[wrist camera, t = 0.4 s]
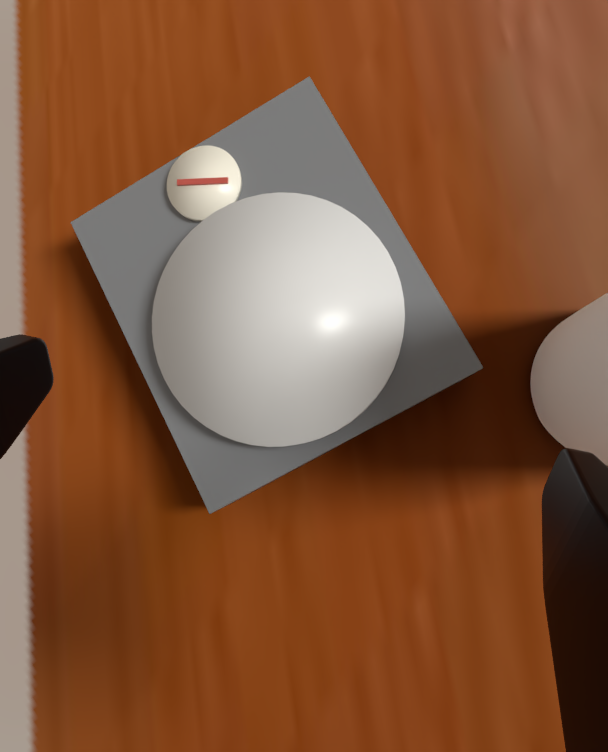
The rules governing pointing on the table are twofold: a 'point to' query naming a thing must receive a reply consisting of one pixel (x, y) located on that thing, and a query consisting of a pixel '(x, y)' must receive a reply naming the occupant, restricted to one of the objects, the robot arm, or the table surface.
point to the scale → (270, 297)
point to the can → (575, 380)
